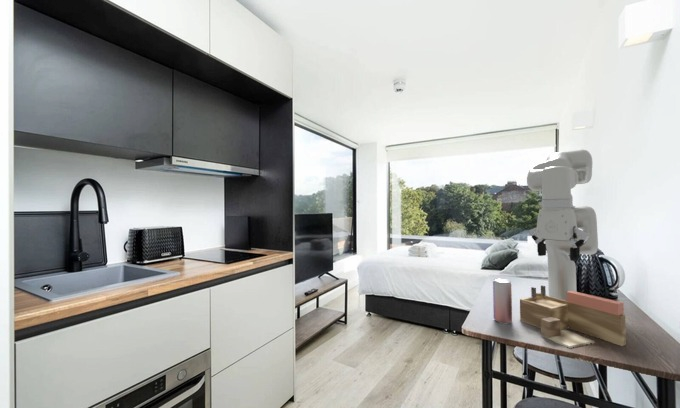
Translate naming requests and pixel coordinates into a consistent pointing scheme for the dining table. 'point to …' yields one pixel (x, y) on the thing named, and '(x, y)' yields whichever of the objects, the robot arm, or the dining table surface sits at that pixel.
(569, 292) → the pink rectangular block
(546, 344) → the dining table surface
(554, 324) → the lid
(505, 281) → the beverage can
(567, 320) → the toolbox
